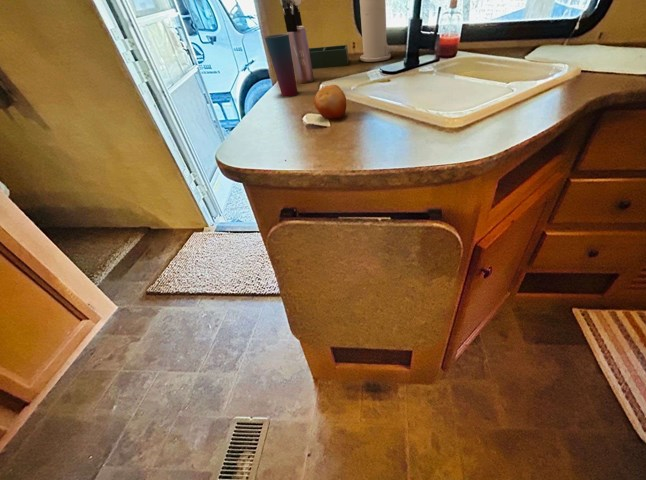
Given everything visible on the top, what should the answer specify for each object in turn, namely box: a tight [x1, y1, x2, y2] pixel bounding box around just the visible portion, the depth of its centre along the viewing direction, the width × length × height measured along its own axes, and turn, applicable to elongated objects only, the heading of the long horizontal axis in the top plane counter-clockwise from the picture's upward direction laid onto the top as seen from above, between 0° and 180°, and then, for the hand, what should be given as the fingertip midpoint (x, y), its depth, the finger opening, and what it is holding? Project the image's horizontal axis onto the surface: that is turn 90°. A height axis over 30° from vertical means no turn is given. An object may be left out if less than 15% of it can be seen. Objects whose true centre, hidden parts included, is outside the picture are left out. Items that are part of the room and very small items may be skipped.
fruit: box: [313, 84, 347, 120], centre depth 79 cm, size 8×8×8 cm
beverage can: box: [286, 25, 315, 84], centre depth 105 cm, size 6×6×15 cm
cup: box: [264, 32, 298, 98], centre depth 94 cm, size 7×7×15 cm
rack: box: [309, 44, 350, 70], centre depth 125 cm, size 18×9×5 cm, turn 90°
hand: (295, 29), depth 100 cm, fingers open, 9 cm apart
